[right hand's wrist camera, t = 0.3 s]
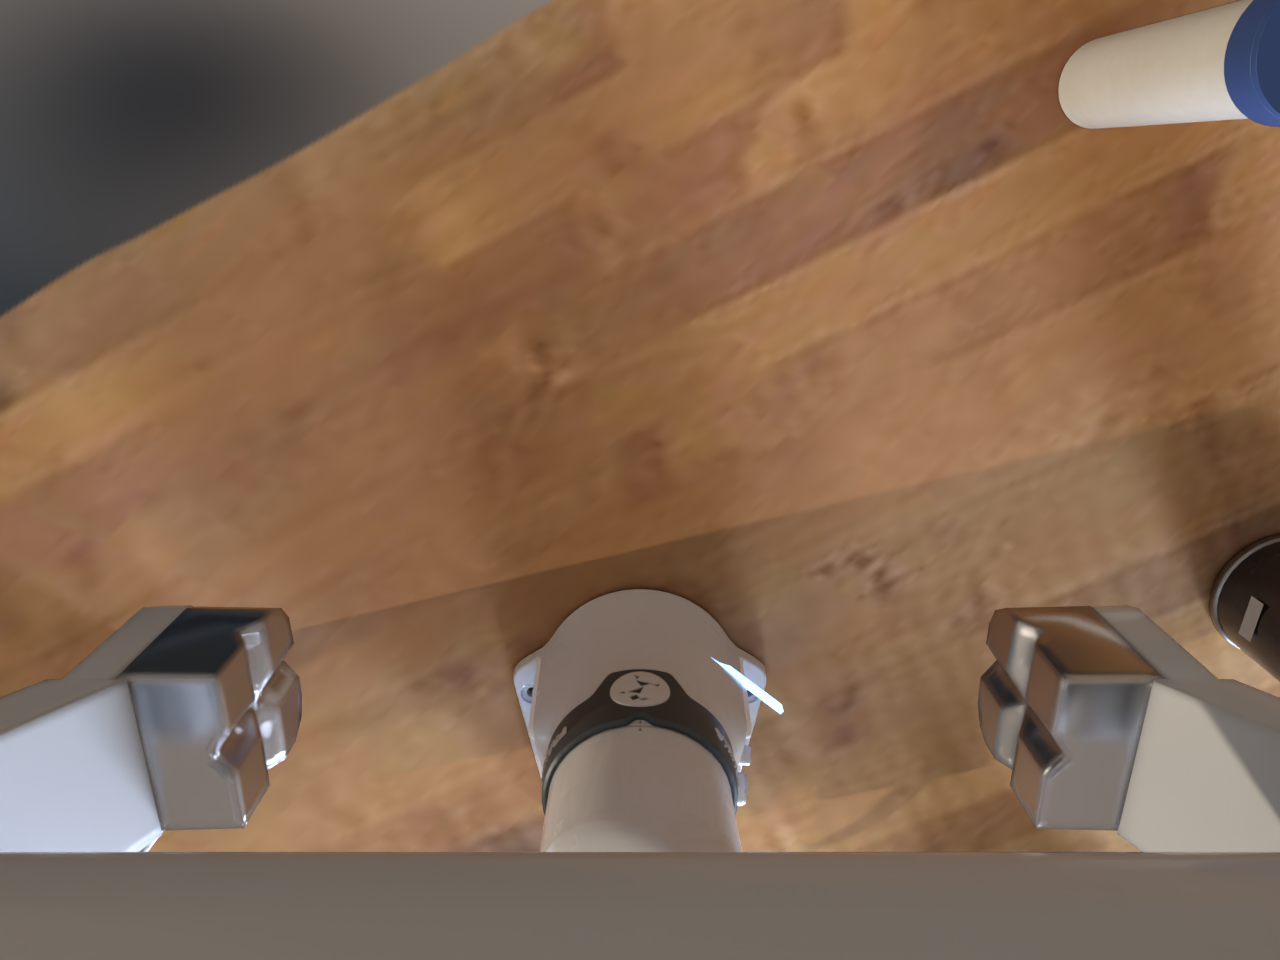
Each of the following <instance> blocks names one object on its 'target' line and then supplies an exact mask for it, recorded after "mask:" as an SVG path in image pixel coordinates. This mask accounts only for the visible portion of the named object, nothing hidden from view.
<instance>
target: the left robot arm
mask: <svg viewBox="0 0 1280 960" xmlns="http://www.w3.org/2000/svg"><path fill="white" fill-rule="evenodd" d="M1209 608H1210V616H1211V619H1212V622H1213V624H1214V626H1215V628H1216V629H1217V631H1218V632H1219V633H1220V634H1221V635H1222V636H1223V637H1224V638H1225V639H1226V640H1227V641H1229V642H1230V643H1231V644H1232V645H1234V646H1235V647H1237V648H1239V649H1241V650H1242V651H1243V652H1244V653H1246V654H1247V655H1248V656H1249V657H1250V658H1252V659H1253V660H1254V661H1255V662H1257V663H1258V664H1259V665H1260V666H1261V667H1262V668H1264V669H1265V670H1266V671H1267V672H1268V673H1270V674H1271V675H1272V676H1273V677H1275V678H1276V679H1277V680H1278V681H1280V534H1279V535H1274V536H1270V537H1267V538H1264V539H1262V540H1259V541H1257V542H1255V543H1253V544H1251V545H1249V546H1248V547H1246V548H1245V549H1243V550H1242V551H1240V552H1239V553H1238V554H1237V555H1235V556H1234V557H1233V558H1232V559H1231V560H1230V561H1229V562H1228V563H1227V564H1226V565H1225V567H1224V568H1223V569H1222V571H1221V572H1220V574H1219V575H1218V577H1217V579H1216V581H1215V583H1214V585H1213V588H1212V591H1211V595H1210V603H1209Z"/></svg>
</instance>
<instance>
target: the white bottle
mask: <svg viewBox="0 0 1280 960" xmlns="http://www.w3.org/2000/svg"><path fill="white" fill-rule="evenodd" d="M1252 1H1253V0H1241V1H1237V2H1233V3H1229V4H1226V5H1222V6H1218V7H1214V8H1210V9H1207V10H1203V11H1199V12H1195V13H1192V14H1188V15H1184V16H1180V17H1177V18H1173V19H1169V20H1165V21H1162V22H1158V23H1154V24H1150V25H1146V26H1143V27H1139V28H1135V29H1131V30H1128V31H1124V32H1120V33H1116V34H1113V35H1109V36H1105V37H1101V38H1097V39H1094V40H1092V41H1090V42H1088V43H1086V44H1084V45H1083V46H1081V47H1080V48H1079V49H1078V50H1077V51H1076V52H1075V53H1074V54H1073V55H1072V56H1071V57H1070V59H1069V60H1068V61H1067V63H1066V65H1065V67H1064V69H1063V71H1062V74H1061V77H1060V81H1059V89H1058V93H1059V101H1060V104H1061V107H1062V109H1063V111H1064V113H1065V115H1066V116H1067V117H1068V118H1069V119H1070V120H1071V121H1072V122H1073V123H1075V124H1077V125H1078V126H1081V127H1084V128H1088V129H1100V128H1115V127H1130V126H1144V125H1159V124H1174V123H1188V122H1203V121H1218V120H1232V119H1247V117H1246V116H1245V115H1243V114H1242V113H1241V112H1240V111H1239V110H1238V109H1237V107H1236V106H1235V105H1234V103H1233V102H1232V100H1231V98H1230V96H1229V94H1228V91H1227V88H1226V84H1225V78H1224V58H1225V52H1226V48H1227V44H1228V41H1229V38H1230V35H1231V33H1232V31H1233V29H1234V27H1235V25H1236V23H1237V21H1238V20H1239V18H1240V16H1241V15H1242V13H1243V12H1244V11H1245V10H1246V8H1247V7H1248V6H1249V5H1250V4H1251V2H1252Z"/></svg>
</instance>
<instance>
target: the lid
mask: <svg viewBox="0 0 1280 960" xmlns="http://www.w3.org/2000/svg"><path fill="white" fill-rule="evenodd" d="M1224 78H1225V84H1226V88H1227V91H1228V94H1229V96H1230V98H1231V100H1232V102H1233V103H1234V105H1235V106H1236V107H1237V109H1238V110H1239V111H1240V112H1241V113H1242V114H1243V115H1245V116H1246V117H1247V118H1249V119H1251V120H1252V121H1254V122H1257V123H1259V124H1262V125H1267V126H1274V127H1280V0H1253V1H1252V2H1251V4H1250V5H1249V6H1248V7H1247V8H1246V10H1245V11H1244V12H1243V13H1242V15H1241V16H1240V18H1239V20H1238V21H1237V23H1236V25H1235V27H1234V29H1233V31H1232V33H1231V35H1230V38H1229V41H1228V44H1227V48H1226V52H1225V58H1224Z"/></svg>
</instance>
